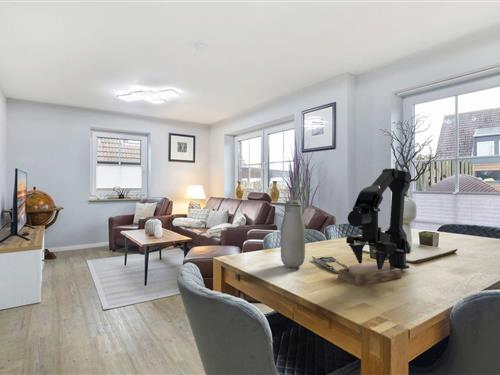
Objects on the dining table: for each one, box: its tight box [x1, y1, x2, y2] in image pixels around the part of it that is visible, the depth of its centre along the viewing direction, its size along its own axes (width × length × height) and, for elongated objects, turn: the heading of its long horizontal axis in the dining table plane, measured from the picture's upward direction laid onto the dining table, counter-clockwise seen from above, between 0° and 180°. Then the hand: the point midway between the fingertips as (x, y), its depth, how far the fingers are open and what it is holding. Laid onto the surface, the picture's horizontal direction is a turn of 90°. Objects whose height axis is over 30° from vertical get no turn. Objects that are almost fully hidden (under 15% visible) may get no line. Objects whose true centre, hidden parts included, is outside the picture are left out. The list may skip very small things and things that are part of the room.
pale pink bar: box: [348, 260, 390, 276], centre depth 109 cm, size 16×4×4 cm, turn 114°
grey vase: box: [280, 199, 306, 269], centre depth 123 cm, size 10×10×28 cm
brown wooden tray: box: [337, 266, 402, 287], centre depth 109 cm, size 21×10×3 cm, turn 114°
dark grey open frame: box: [311, 256, 349, 274], centre depth 124 cm, size 22×3×10 cm
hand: (369, 266), depth 109 cm, fingers open, 9 cm apart
